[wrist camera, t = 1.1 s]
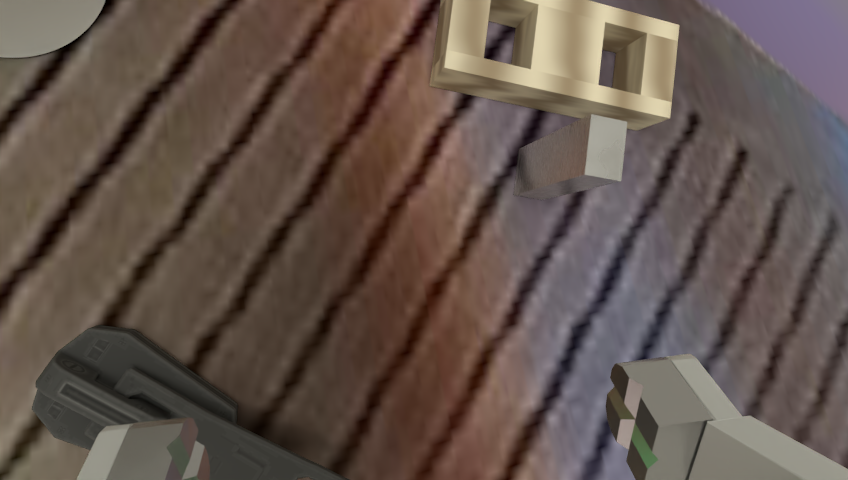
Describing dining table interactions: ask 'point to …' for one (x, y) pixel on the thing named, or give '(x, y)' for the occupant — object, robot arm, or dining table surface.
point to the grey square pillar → (572, 159)
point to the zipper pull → (154, 404)
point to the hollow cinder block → (560, 58)
